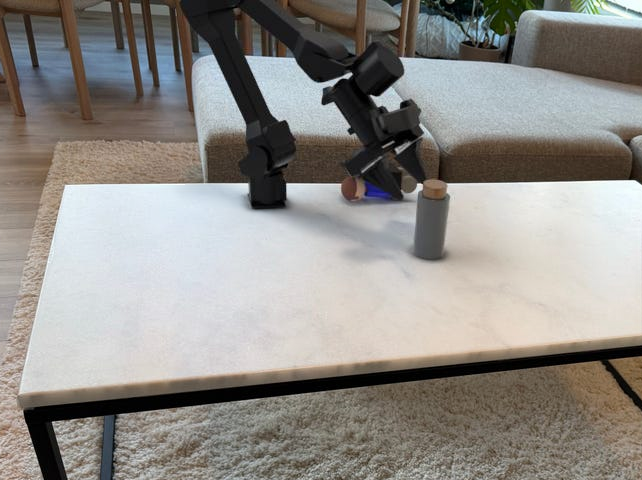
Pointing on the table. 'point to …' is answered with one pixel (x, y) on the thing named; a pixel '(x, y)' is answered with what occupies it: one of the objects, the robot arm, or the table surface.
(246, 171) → the robot arm
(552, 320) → the table surface
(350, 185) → the figurine character
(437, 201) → the pepper mill
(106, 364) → the table surface
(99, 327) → the table surface
